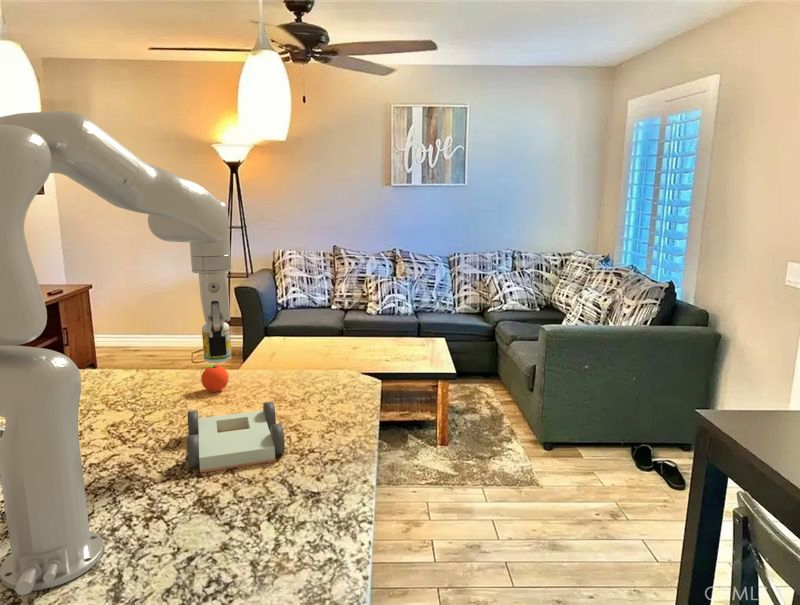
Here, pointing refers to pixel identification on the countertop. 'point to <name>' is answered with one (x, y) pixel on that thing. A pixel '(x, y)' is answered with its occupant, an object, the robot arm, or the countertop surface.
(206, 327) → the supplement bottle
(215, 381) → the tomato
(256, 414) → the chassis
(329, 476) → the countertop surface
